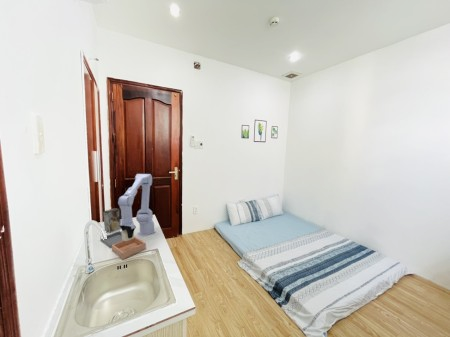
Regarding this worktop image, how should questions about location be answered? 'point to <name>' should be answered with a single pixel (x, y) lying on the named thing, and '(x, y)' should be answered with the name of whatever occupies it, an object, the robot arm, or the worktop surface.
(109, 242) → the tray
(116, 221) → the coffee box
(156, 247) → the worktop surface
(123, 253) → the bin
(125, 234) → the stone block
